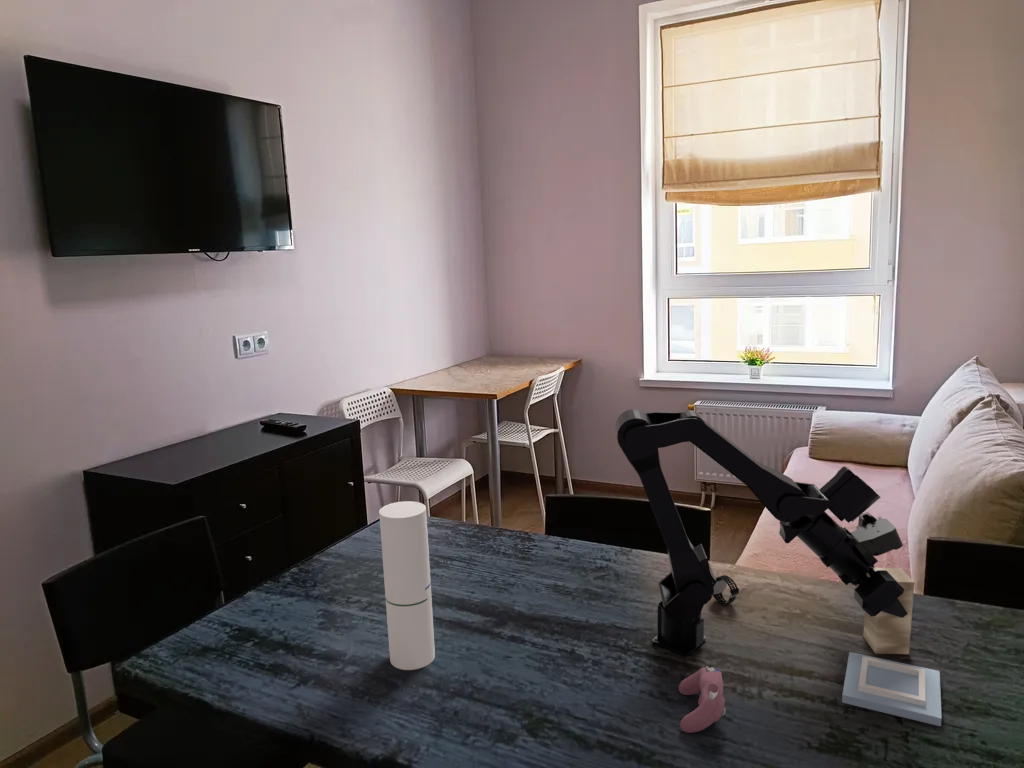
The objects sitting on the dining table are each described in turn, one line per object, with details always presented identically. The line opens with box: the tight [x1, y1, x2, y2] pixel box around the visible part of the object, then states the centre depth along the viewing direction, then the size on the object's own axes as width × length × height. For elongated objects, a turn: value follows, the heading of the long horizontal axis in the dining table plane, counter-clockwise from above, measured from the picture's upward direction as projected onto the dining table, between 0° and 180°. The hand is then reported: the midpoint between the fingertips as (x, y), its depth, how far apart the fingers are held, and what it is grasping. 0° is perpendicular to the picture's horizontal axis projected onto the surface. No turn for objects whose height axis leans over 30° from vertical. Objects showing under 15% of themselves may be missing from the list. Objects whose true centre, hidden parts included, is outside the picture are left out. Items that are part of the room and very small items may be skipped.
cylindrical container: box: [378, 500, 436, 671], centre depth 116 cm, size 7×7×25 cm
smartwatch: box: [712, 574, 740, 606], centre depth 131 cm, size 4×5×5 cm
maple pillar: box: [862, 567, 915, 655], centre depth 116 cm, size 5×5×12 cm
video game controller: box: [678, 665, 726, 734], centre depth 102 cm, size 10×5×7 cm, turn 169°
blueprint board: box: [841, 651, 942, 727], centre depth 106 cm, size 12×12×2 cm
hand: (897, 606), depth 116 cm, fingers closed on maple pillar, 5 cm apart
